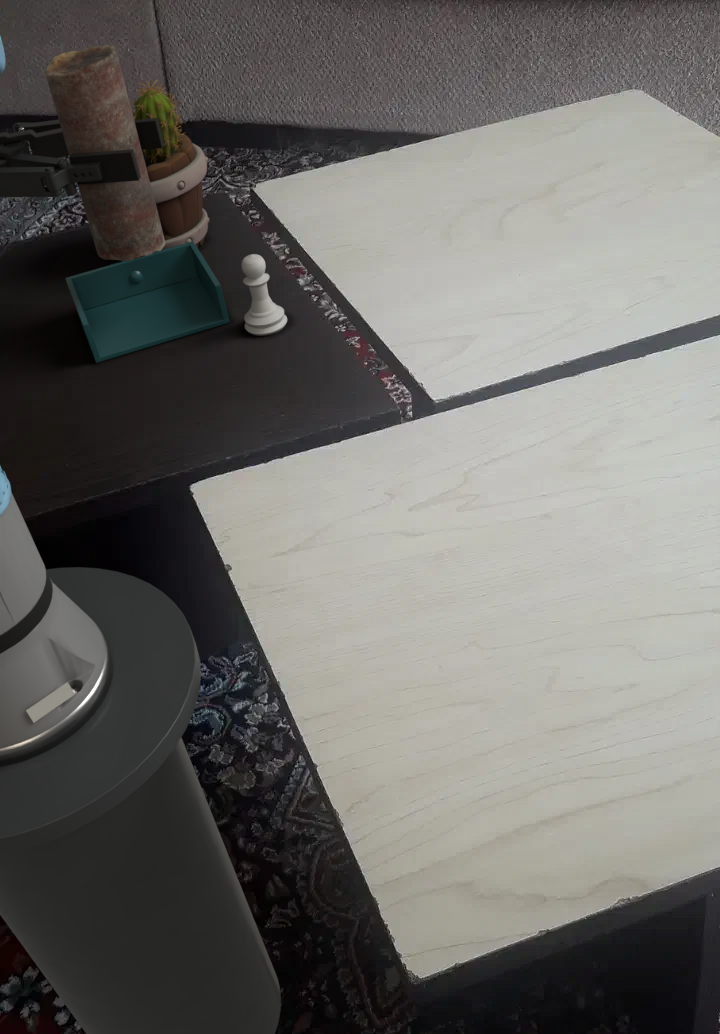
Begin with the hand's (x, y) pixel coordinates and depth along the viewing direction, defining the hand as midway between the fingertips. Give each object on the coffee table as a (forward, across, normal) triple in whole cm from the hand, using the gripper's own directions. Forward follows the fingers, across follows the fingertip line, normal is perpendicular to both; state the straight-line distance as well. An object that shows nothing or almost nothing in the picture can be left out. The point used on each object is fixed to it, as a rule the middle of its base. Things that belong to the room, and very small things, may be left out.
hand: (147, 148), depth 106 cm
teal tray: (-6, -2, -19) cm, 20 cm away
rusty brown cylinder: (-5, 0, -11) cm, 12 cm away
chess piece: (+9, +2, -19) cm, 21 cm away
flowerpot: (-9, -18, -19) cm, 27 cm away
